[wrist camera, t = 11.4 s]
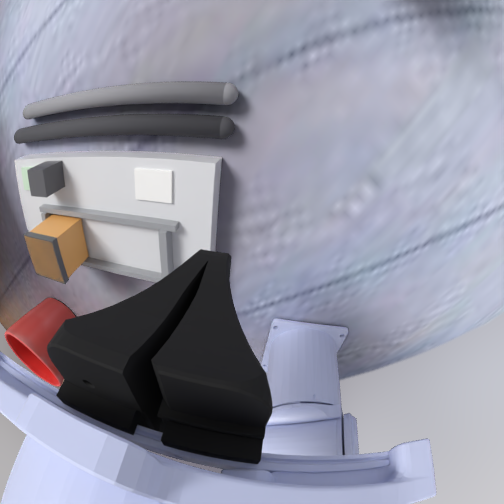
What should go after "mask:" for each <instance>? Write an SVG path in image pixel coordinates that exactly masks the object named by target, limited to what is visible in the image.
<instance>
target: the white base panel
mask: <svg viewBox="0 0 504 504" xmlns="http://www.w3.org/2000/svg"><path fill="white" fill-rule="evenodd" d="M14 161H15V169H16V176H17V182H18V188H19V194H20V199H21V204H22V208H23V213H24V217H25V221H26V225H27V229H28V231H29V232H30V231H31V230H32V229H34V228H35V227H36V226H37V225H39V224H40V223H41V222H43V221H44V220H45V219H47V218H48V217H50V216H51V215H52V214H55V215H62V216H69V217H75V218H81V221H82V226H83V231H84V236H85V241H86V246H87V250H88V255H89V257H88V258H87V259H86V260H85V261H84V262H83V263H82V264H81V265H84V266H88V267H92V268H96V269H100V270H104V271H108V272H112V273H116V274H120V275H125V276H129V277H133V278H138V279H142V280H147V281H151V282H156V283H157V282H158V281H160V280H161V279H163V278H164V277H166V276H167V275H168V274H170V273H171V272H172V271H174V270H175V269H176V268H178V267H179V266H180V265H182V264H183V263H184V262H185V261H187V260H188V259H189V258H190V257H191V256H193V255H194V254H195V253H196V252H198V251H199V250H200V249H203V250H209V251H216V233H217V218H218V203H219V189H220V177H221V165H222V157H215V156H205V155H194V154H181V153H166V152H146V151H70V152H51V153H38V154H27V155H25V156H23V157H20V158H18V159H16V160H14Z"/></svg>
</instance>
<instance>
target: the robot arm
mask: <svg viewBox="0 0 504 504" xmlns="http://www.w3.org/2000/svg"><path fill="white" fill-rule="evenodd" d="M230 266H231V256H230V255H229V254H227V253H221V252H215V251H209V250H203V249H200V250H199V251H198V252H196V253H195V254H194V255H193V256H191V257H190V258H189V259H188V260H187V261H185V262H184V263H183V264H182V265H180V266H179V267H178V268H176V269H175V270H174V271H172V272H171V273H170V274H168V275H167V276H166V277H164V278H163V279H161V280H160V281H158V282H157V283H156V284H154V285H152V286H151V287H149V288H147V289H146V290H144V291H142V292H140V293H138V294H137V295H135V296H133V297H131V298H128V299H126V300H124V301H122V302H120V303H117V304H115V305H113V306H110V307H108V308H105V309H102V310H99V311H96V312H93V313H90V314H86V315H82V316H79V317H75V318H71V319H66V320H65V321H64V322H63V324H62V325H61V326H60V328H59V329H58V331H57V332H56V333H55V335H54V336H53V338H52V339H51V341H50V342H49V344H48V345H47V352H48V355H49V357H50V359H51V361H52V362H53V364H54V365H55V367H56V368H57V370H58V371H59V372H60V374H61V375H62V377H63V378H64V379H65V380H64V382H63V384H62V386H61V387H60V389H57V388H55V387H54V386H52V385H50V384H48V383H47V382H45V381H43V380H42V379H40V378H38V377H37V376H35V375H34V374H32V373H30V372H29V371H27V370H26V369H24V368H23V367H21V366H20V365H18V364H17V363H16V362H14V361H13V360H11V359H10V358H9V357H7V356H6V355H5V354H3V353H2V352H0V412H1V413H2V414H3V415H4V416H5V417H6V418H8V419H9V420H10V421H11V422H12V423H14V424H15V425H16V426H17V427H18V428H19V429H20V430H21V431H23V432H24V433H25V434H27V435H26V437H25V439H24V442H23V444H22V446H21V449H20V451H19V453H18V456H17V458H16V460H15V463H14V466H13V468H12V471H11V474H10V476H9V479H8V482H7V485H6V488H5V491H4V494H3V497H2V500H1V504H412V503H416V502H419V501H422V500H425V499H428V498H431V497H434V496H435V495H436V483H435V475H434V466H433V459H432V452H431V446H430V440H429V439H422V440H416V441H411V442H406V443H402V444H399V445H397V446H395V447H393V448H392V449H391V450H390V451H387V452H378V453H369V454H359V448H358V435H357V434H358V433H357V422H356V421H357V420H356V418H355V417H353V416H351V414H350V413H348V414H344V418H343V413H342V408H341V394H340V382H339V372H338V362H337V352H338V351H339V349H340V347H341V345H342V344H343V342H344V340H345V338H346V336H347V334H348V328H346V327H339V326H330V325H321V324H313V323H306V322H298V321H291V320H284V319H274V320H273V321H272V324H271V328H270V332H269V336H268V340H267V344H266V347H265V351H264V355H263V359H262V363H261V365H260V363H259V361H258V360H257V358H256V356H255V355H254V353H253V351H252V349H251V347H250V345H249V343H248V341H247V339H246V337H245V335H244V332H243V330H242V328H241V325H240V323H239V320H238V317H237V314H236V311H235V307H234V304H233V299H232V295H231V289H230V282H229V277H230ZM275 326H278V327H275ZM342 334H343V335H342ZM266 373H267V375H266ZM146 449H147V450H150V451H153V452H156V453H159V454H163V455H166V456H169V457H173V458H176V459H180V460H184V461H188V462H192V463H196V464H201V465H205V466H210V467H215V468H221V469H223V470H222V471H221V473H217V472H212V471H208V470H205V469H201V468H197V467H194V466H190V465H187V464H184V463H180V462H177V461H174V460H171V459H168V458H165V457H163V456H159V455H157V454H154V453H151V452H149V451H147V450H146Z"/></svg>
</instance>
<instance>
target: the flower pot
mask: <svg viewBox="0 0 504 504" xmlns="http://www.w3.org/2000/svg"><path fill="white" fill-rule="evenodd" d="M75 317H76V316H75V315H74V314H73V313H72V311H71V310H70V309H69V308H68V307H67V306H65V305H64V304H63V303H61V302H60V301H58V300H56V299H54V298H47V299H45V300H44V301H42V302H41V303H40V304H38V305H37V306H36V307H34V308H33V309H32V310H30V311H29V312H28V313H27V314H25V315H24V316H23V317H22V318H20V319H19V320H18V321H17V322H16V323H14V324H13V325H12V326H11V327H10V328H9V329H8V330H7V331H6V332H5V338H6V340H7V342H8V344H9V346H10V347H11V349H12V350H13V352H14V353H15V354H16V355H17V356H18V358H20V360H21V361H22V362H23V363H24V364H25V365H26V366H27V367H28V368H29V369H31V370H32V371H33V372H34V373H35V374H36V375H38V376H39V377H40V378H42V379H43V380H45V381H46V382H48V383H50V384H52V385H54V386H58V387H59V386H61V385H62V382H63V379H64V378H63V377H62V375H61V374H60V372H59V371H58V370H57V368H56V367H55V365H54V364H53V362H52V361H51V359H50V357H49V355H48V352H47V345H48V344H49V342H50V341H51V339H52V338H53V336H54V335H55V333H56V332H57V331H58V329H59V328H60V326H61V325H62V324H63V322H64V321H65V320H66V319H71V318H75Z"/></svg>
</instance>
